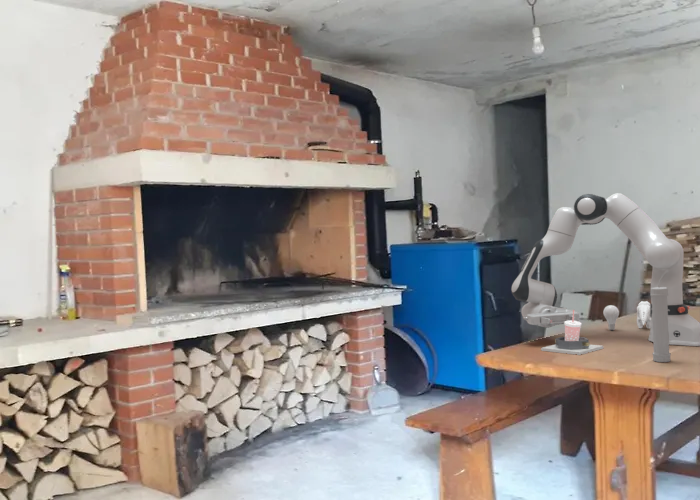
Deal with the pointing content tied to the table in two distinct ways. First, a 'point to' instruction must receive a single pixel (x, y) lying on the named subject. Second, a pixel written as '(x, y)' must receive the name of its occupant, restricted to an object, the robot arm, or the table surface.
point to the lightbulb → (611, 316)
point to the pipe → (660, 324)
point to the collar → (572, 343)
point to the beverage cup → (572, 329)
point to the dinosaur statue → (643, 314)
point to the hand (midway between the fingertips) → (562, 320)
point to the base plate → (575, 351)
